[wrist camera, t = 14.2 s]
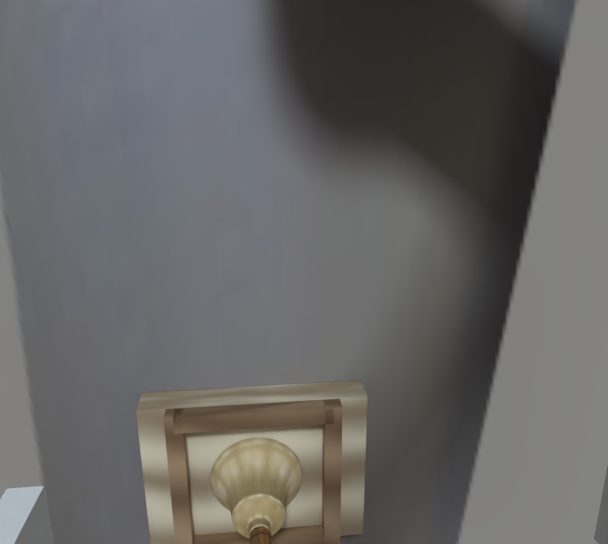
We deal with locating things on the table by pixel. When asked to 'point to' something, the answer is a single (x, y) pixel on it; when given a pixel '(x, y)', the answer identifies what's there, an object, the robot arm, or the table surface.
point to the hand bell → (256, 485)
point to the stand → (244, 425)
